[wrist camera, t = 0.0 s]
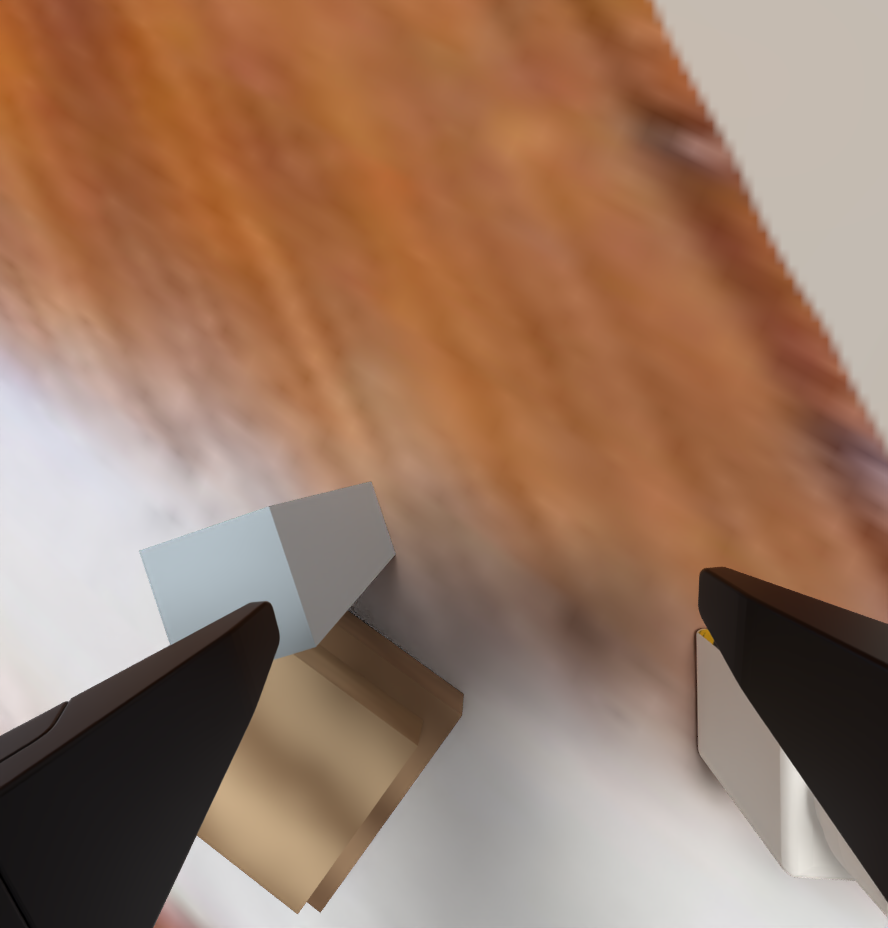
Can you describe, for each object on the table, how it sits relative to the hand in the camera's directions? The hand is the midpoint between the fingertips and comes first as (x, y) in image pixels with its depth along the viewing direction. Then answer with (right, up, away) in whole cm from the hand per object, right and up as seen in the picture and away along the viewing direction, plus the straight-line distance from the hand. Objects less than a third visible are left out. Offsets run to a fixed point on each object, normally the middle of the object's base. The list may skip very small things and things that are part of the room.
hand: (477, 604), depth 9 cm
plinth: (-9, -12, +17) cm, 23 cm away
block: (-6, -1, +16) cm, 17 cm away
